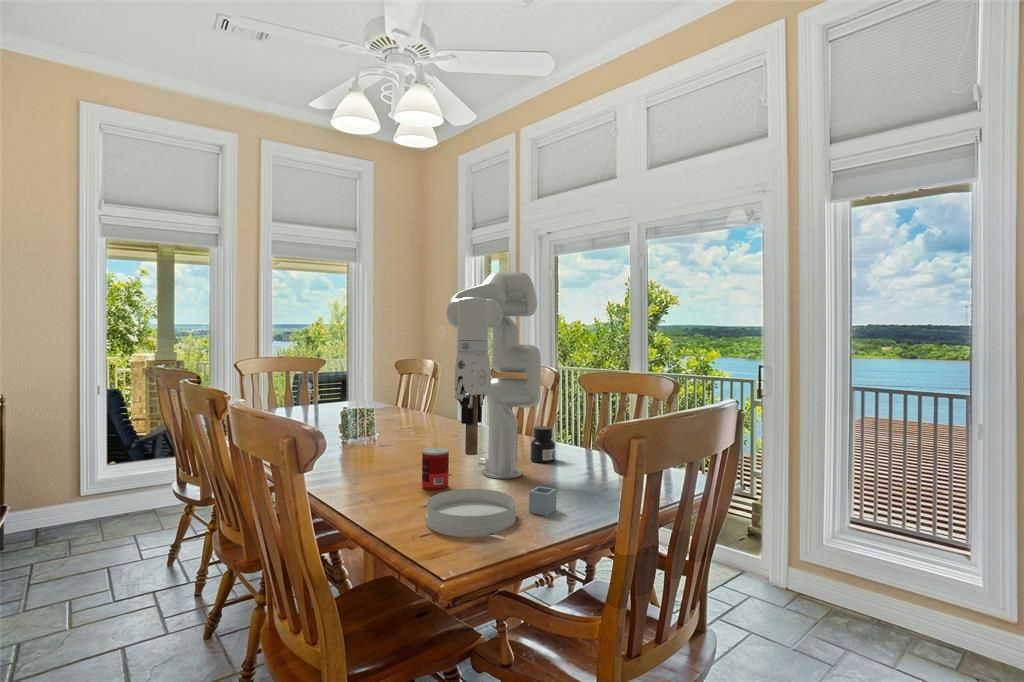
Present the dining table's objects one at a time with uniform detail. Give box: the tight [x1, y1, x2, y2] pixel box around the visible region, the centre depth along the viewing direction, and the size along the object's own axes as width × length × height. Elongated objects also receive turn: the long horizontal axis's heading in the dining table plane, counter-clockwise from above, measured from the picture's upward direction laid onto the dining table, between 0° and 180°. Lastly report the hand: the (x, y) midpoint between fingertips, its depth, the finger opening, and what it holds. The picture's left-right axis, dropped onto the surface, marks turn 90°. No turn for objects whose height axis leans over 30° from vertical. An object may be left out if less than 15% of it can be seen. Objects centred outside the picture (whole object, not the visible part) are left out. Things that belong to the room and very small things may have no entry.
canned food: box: [421, 447, 450, 491], centre depth 164 cm, size 8×8×11 cm
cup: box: [528, 486, 557, 517], centre depth 141 cm, size 5×5×6 cm
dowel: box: [464, 396, 479, 456], centre depth 134 cm, size 3×3×14 cm
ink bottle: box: [529, 425, 556, 464], centre depth 198 cm, size 10×9×12 cm
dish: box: [425, 488, 517, 538], centre depth 135 cm, size 22×22×5 cm
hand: (471, 422), depth 134 cm, fingers closed on dowel, 3 cm apart
